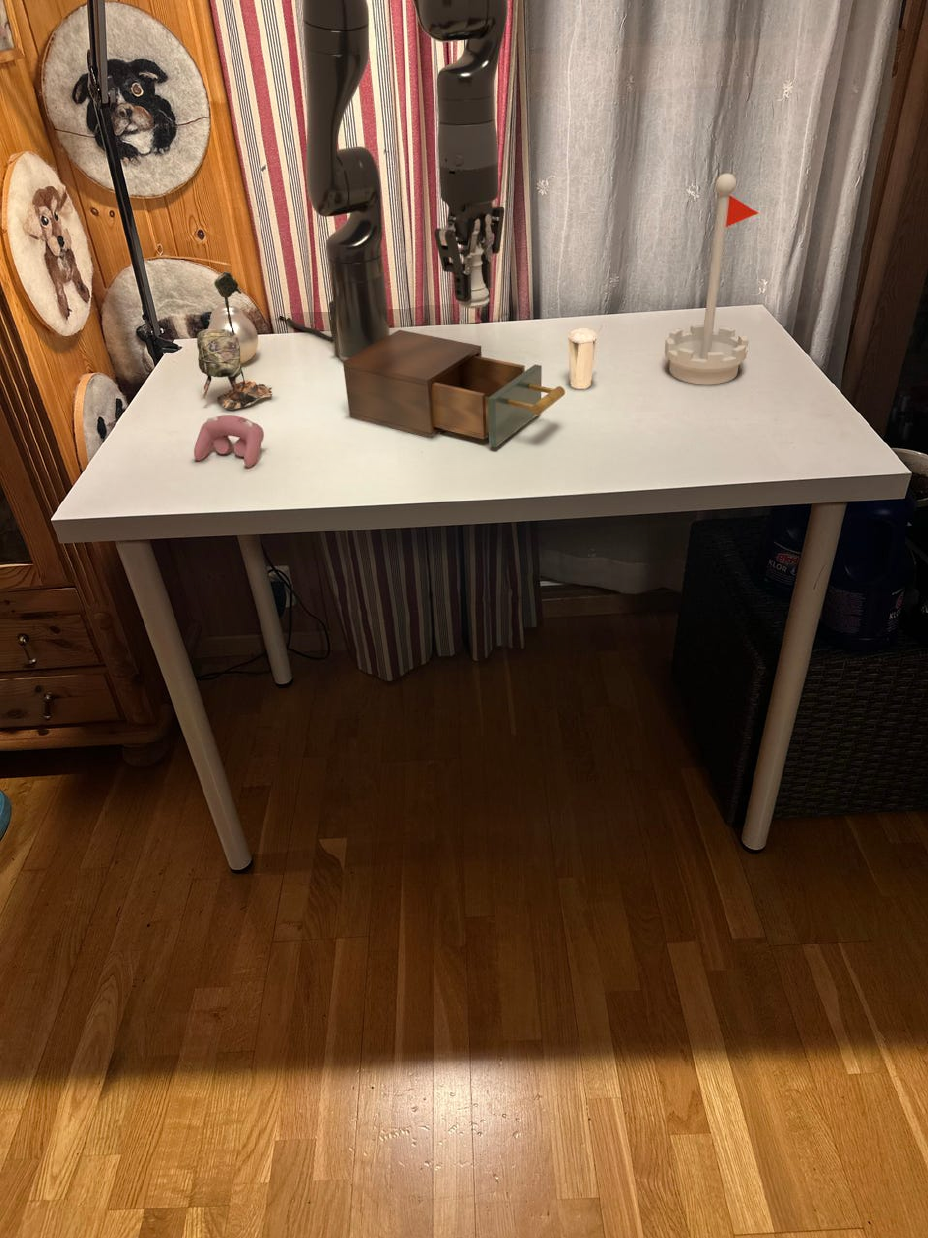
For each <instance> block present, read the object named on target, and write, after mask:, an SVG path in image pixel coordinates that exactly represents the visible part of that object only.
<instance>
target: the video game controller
mask: <svg viewBox="0 0 928 1238" xmlns="http://www.w3.org/2000/svg"><path fill="white" fill-rule="evenodd" d="M230 437H233V438H234V437H235V438H238V439H237V440H236V441H235V443H234V444H233V443H232V441H231V439H230ZM264 438H265V433H264V429H263V428H262V426H261V425H259V424H258V423H256V422H253V421H251V420H250V419H249V418H246V417H243V416H240V415H234V414H233V415H232V414H226V415H225V414H222V415H217V416H212V417H208V418H207V419H206V420H205V422H204V423H203V424H202V425H201V427H200V431H199V433H198V436H197V439H196V442H195V444H194V448H193V456H194V459H196V461H197V462H201V461H203V460H204V459H205V458H206V457H207V455H208V453H209V452H210V450H211V448H212V446H214V449H215V450H216V452H217V453H218V454H219V455H227V454H230V453H231V452H232V450H233V451H234V453H235V455H237V456H238V457H242V458H243V462H244V465H245V467H247V468H252V467H253V466H254V465H255V463H257V460H258V458H259V455H260V451H261V446H262V443H263V441H264Z"/></svg>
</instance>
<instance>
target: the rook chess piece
mask: <svg viewBox="0 0 928 1238" xmlns="http://www.w3.org/2000/svg"><path fill="white" fill-rule="evenodd" d="M467 247H468V246H465V245H461V248H464V249H466V248H467ZM483 252H484V250H483V249H482V248H481V244H480V242H477V245H476V251H475V255H474V256H472V258H471V266H470V272H469V273H471V296H472V298H471V300H470V301H468V302H463V301H458V300H457V303H458V304H459V306H460V307H462V308H464V309H473V310H474V309H480V308H485V306H487V305H488V304H489V302H490V300H491V299H490V297H489V294H490V292H489V290H488V289H487V288H486V287H485V286H486V285H485V284H484V282H483V277H482V271H481V265H482V263H483V262H482V261H481V255H482V254H483ZM460 256H461V257H462V258H463V259H464V256H463V255H462V254H460ZM461 262H462V264H463V261H461Z"/></svg>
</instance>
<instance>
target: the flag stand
mask: <svg viewBox="0 0 928 1238" xmlns="http://www.w3.org/2000/svg"><path fill="white" fill-rule="evenodd" d="M736 187H737V180H736V178H735V176H734V175H732V174H731V173H723V174H721V175H720V176H719V177H718V178H717V179H716V182H715V191H716V192H717V194H718V203H717V210H716V219H715V220H716V221H715V229H714V236H713V237H714V238H713V246H712V254H711V261H710V270H709V279H708V288H707V295H706V305H705V312H704V322H703V324H694V325H693V324H691V325H690V331H689V332H683V329H681V328H675V329H672V330H671V331H670V332H669V333H668V338H667V337H666V338H665V343H664V355H665V357H666V358H667V359H668V360H669V367H668V368H669V373H670V375H671V376H672V377H673V378H675V379H677V380H679V381H682V382H685V383H689V384H694V385H705V386H707V385H719V384H724V383H727V382H730V381H732V380H733V379H735V378H736V377H737V376H738V371H739V365H740V364H741V363H743V362H744V361H745V360H746V358H747V356H748V349H749V343H750V342H749V341H750V340H749V338H748V336H747V335H745V334H739V335H738V337H736V336H735V334H736V329H734V328H731V327H727V326H719V329H718V332H716V331H714V327H715V318H716V311H717V302H718V301H717V300H718V294H719V293H718V292H719V286H720V278H721V269H722V261H723V254H724V247H725V246H724V245H725V237H726V230H727V229H726V228H728V227H730V226H732V225H734V224H737V223H740V222H742V221H743V220H746V219H749V218H751V217H753V216H755V215H758V214H759V212H758V211H756V210H755V209H753V208H751V207H750V206H748V205H747V204H745V203H743V202H742V201H740V200H738V199H736V198H735V197H733V196H732V195H731V194H733V192H734V191H735V190H736Z"/></svg>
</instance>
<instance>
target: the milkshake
mask: <svg viewBox="0 0 928 1238" xmlns="http://www.w3.org/2000/svg"><path fill="white" fill-rule="evenodd" d="M602 327H603V325H601V326H600V328H599V330H598V332H597V333H596V332H595V331H594V330H593V329H590V328H587V327H579V328H574V329H572V330H570V332H569V333H568V335H567V348H568V363H569V365H568V366H569V383H570V384H569V385H570V386H571V387H572V388H573V389H580V390H581V389H582V390H584V389H588V388H589V387H590V386H592V378H593V370H594V369H593V368H594V360H595V352H596V345H597V338H598V336H599V334H600V331H601V330H602Z"/></svg>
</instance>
